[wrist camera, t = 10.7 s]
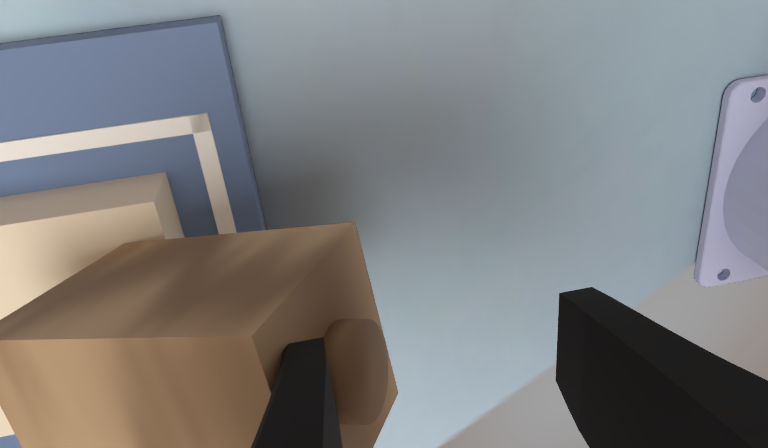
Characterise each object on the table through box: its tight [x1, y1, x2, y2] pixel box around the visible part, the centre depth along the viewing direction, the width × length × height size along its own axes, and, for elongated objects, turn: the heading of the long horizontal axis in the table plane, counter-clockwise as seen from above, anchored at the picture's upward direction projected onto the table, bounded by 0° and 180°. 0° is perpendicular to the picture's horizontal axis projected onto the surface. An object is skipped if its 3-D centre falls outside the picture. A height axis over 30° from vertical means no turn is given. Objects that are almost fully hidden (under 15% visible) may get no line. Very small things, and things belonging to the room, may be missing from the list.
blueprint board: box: [0, 15, 266, 448], centre depth 18 cm, size 11×14×3 cm
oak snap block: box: [0, 222, 398, 448], centre depth 13 cm, size 4×4×7 cm
